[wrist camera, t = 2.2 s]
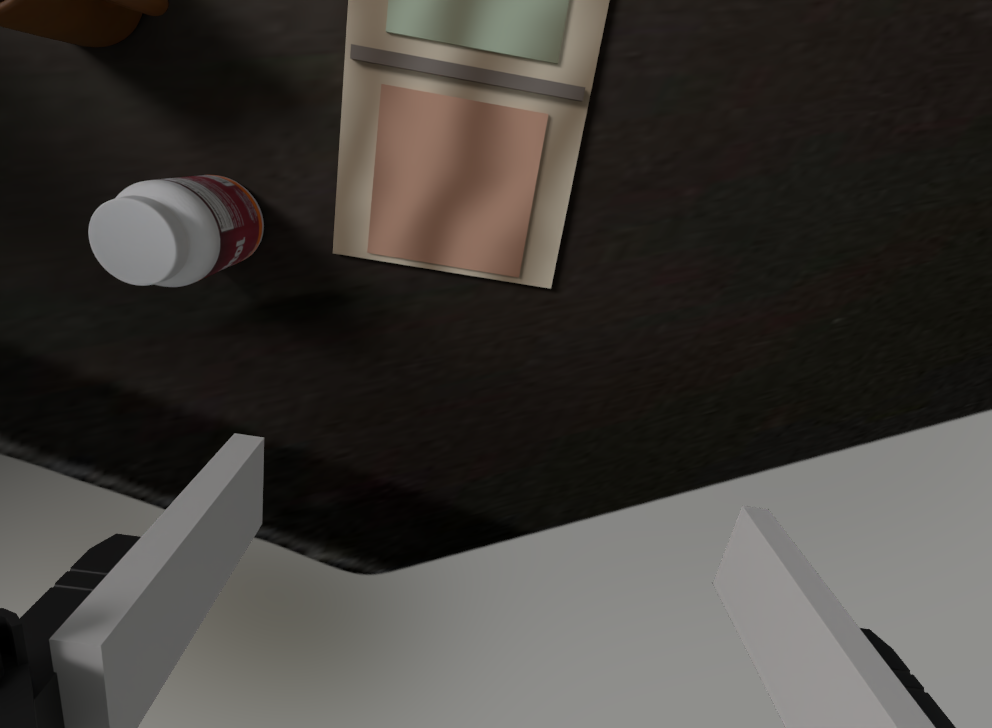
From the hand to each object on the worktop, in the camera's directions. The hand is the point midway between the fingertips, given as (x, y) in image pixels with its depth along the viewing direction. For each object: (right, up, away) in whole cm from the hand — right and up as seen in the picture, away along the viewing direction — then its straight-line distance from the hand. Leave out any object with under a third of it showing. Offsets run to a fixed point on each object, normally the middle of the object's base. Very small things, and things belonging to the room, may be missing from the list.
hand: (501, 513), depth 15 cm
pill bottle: (-20, +15, +25) cm, 35 cm away
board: (-2, +23, +22) cm, 32 cm away
